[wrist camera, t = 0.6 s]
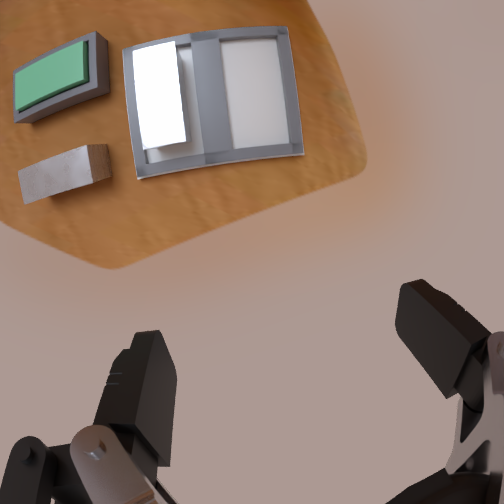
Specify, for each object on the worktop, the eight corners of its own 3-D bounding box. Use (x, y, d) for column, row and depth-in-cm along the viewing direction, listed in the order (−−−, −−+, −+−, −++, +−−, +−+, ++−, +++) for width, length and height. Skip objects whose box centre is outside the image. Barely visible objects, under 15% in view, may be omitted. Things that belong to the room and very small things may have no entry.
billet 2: (147, 66, 25) (132, 51, 20) (182, 58, 25) (174, 41, 20) (156, 148, 29) (143, 149, 23) (192, 141, 29) (186, 141, 24)
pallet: (125, 53, 25) (119, 47, 23) (285, 31, 26) (289, 24, 24) (140, 178, 31) (134, 180, 29) (301, 154, 32) (307, 155, 30)
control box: (29, 74, 23) (13, 70, 19) (107, 40, 24) (95, 30, 20) (31, 123, 26) (14, 123, 22) (110, 92, 27) (97, 87, 23)
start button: (21, 75, 20) (15, 73, 19) (88, 44, 21) (82, 40, 20) (22, 110, 22) (15, 110, 21) (89, 81, 23) (83, 79, 22)
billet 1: (43, 165, 28) (17, 171, 23) (107, 143, 29) (86, 144, 24) (49, 194, 30) (24, 204, 24) (112, 175, 31) (93, 182, 25)
